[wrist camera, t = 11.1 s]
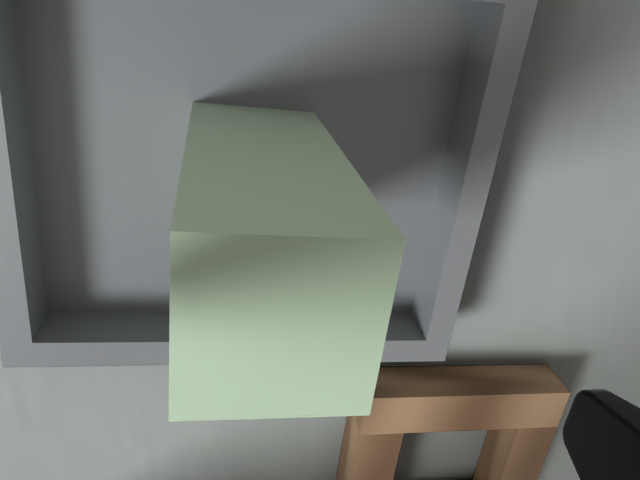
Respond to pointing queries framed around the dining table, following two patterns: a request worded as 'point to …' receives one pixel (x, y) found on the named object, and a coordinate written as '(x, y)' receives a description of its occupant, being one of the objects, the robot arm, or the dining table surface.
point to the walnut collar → (458, 417)
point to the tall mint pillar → (275, 271)
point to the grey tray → (240, 90)
